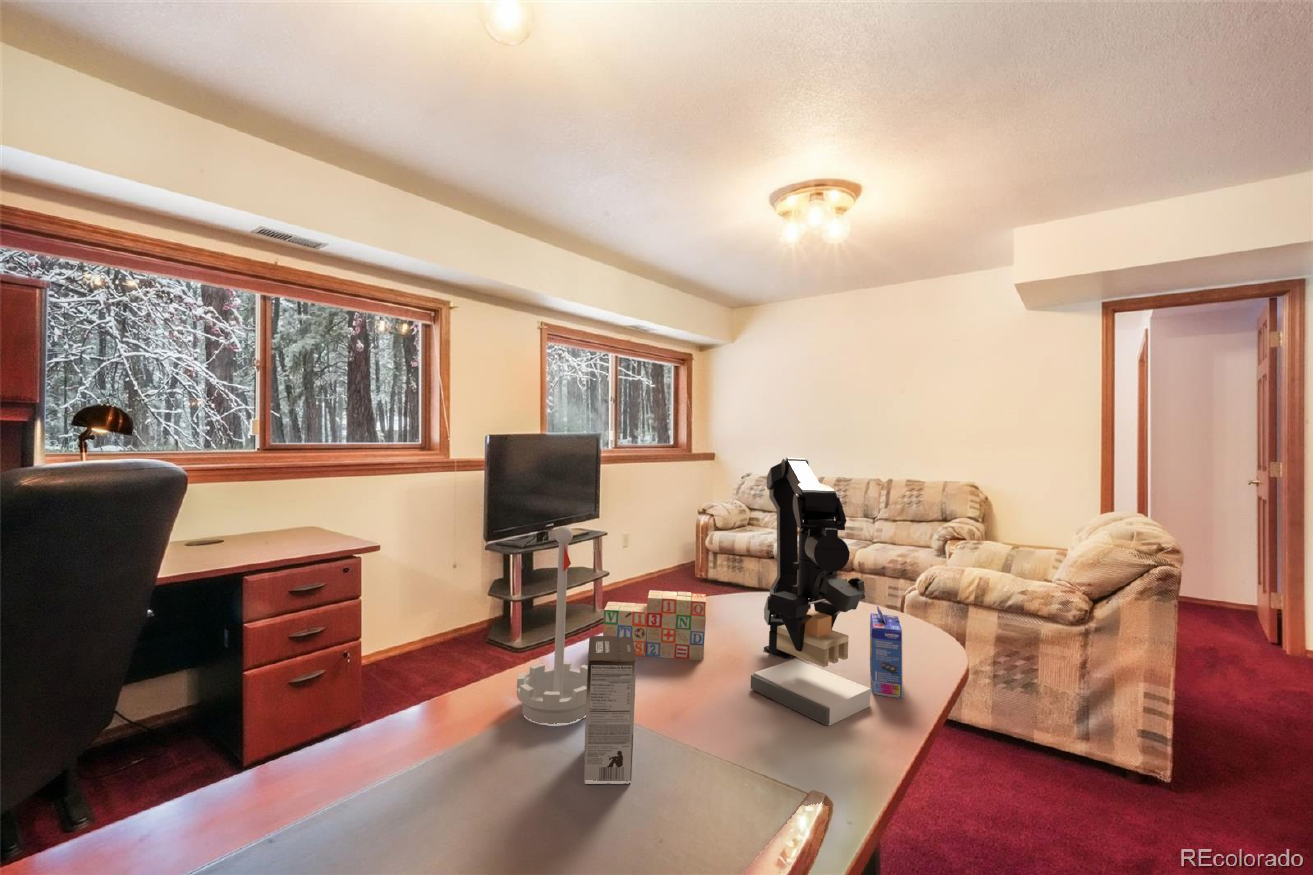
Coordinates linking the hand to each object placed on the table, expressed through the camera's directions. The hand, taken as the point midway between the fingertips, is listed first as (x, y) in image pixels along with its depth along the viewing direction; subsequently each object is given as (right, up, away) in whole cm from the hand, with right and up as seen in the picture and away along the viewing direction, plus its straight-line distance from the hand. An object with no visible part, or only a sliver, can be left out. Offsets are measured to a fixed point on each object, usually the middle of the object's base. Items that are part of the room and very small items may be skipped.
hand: (811, 646), depth 99 cm
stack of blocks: (-28, -9, +19) cm, 35 cm away
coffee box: (-34, -8, -23) cm, 42 cm away
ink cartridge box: (+15, -10, +6) cm, 19 cm away
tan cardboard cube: (0, +3, 0) cm, 3 cm away
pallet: (0, -1, 0) cm, 1 cm away
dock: (0, -9, 0) cm, 9 cm away
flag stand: (-44, -8, -8) cm, 45 cm away
